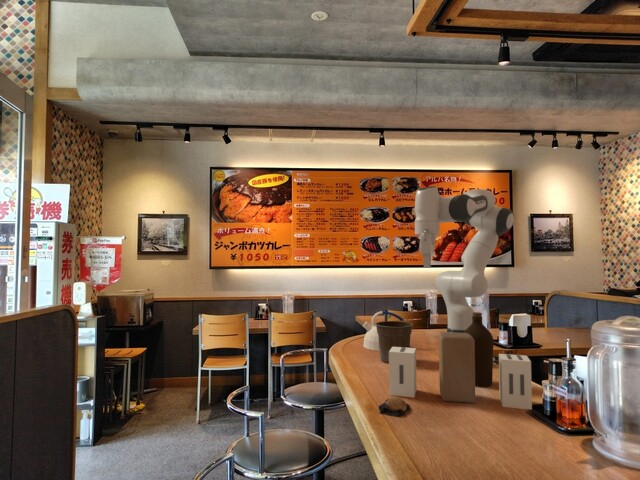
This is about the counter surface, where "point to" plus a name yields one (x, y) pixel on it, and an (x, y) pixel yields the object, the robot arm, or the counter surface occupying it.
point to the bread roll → (394, 407)
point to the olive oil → (482, 351)
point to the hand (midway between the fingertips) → (427, 267)
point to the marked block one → (402, 371)
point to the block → (457, 367)
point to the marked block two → (515, 381)
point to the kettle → (374, 332)
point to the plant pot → (392, 336)
